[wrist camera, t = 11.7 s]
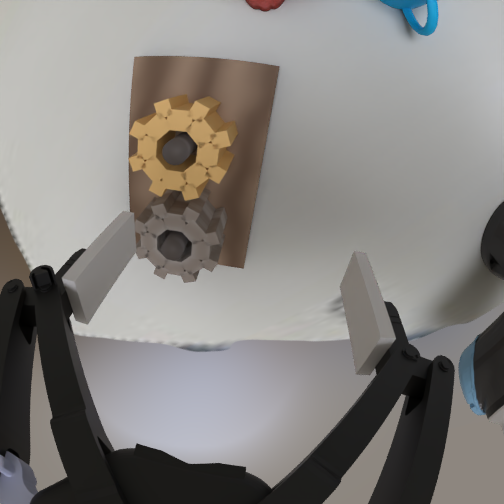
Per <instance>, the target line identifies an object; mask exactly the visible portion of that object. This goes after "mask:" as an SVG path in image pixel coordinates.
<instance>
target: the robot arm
mask: <svg viewBox="0 0 504 504" xmlns="http://www.w3.org/2000/svg"><path fill="white" fill-rule="evenodd" d="M136 251H137V250H136V237H135V222H134V213H132V212H125V211H123V212H122V213H121V214H120V215H119V216H118V217H117V218H116V219H115V220H114V221H113V222H112V223H111V224H110V225H109V226H108V227H107V228H106V229H105V230H104V231H103V232H102V233H101V234H100V235H99V236H98V237H97V239H96V240H95V241H94V242H93V243H92V244H91V245H90V246H89V247H88V248H87V249H83V248H82V249H80V250H79V251H77V252H75V253H74V254H73V255H72V256H71V257H70V258H69V260H68V261H67V262H66V263H65V264H64V265H63V266H62V267H61V269H60V270H59V271H58V272H57V273H56V274H54V271H53V268H52V267H51V266H48V265H42V266H39V267H36V268H35V269H34V270H32V272H31V273H30V276H29V278H30V281H31V283H32V286H33V287H24V285H23V282H22V281H21V280H19V279H13V280H10V281H9V282H7V283H6V284H5V285H4V287H3V289H2V291H1V294H0V503H1V504H322V503H323V502H324V501H325V500H326V499H327V498H328V497H329V496H330V495H331V493H332V492H333V491H334V490H335V489H336V488H337V486H338V485H339V484H340V482H341V478H342V477H343V475H344V474H345V473H346V472H347V470H348V469H349V468H350V467H351V466H352V464H353V463H354V462H355V461H356V459H357V458H358V457H359V455H360V454H361V453H362V452H363V450H364V449H365V448H366V446H367V445H368V444H369V442H370V441H371V439H372V438H373V437H374V435H375V434H376V432H377V431H378V429H379V428H380V427H381V425H382V424H383V422H384V421H385V419H386V418H387V416H388V415H389V413H390V411H391V410H392V408H393V407H394V405H395V404H396V402H397V400H398V399H399V397H400V395H401V394H403V395H406V397H405V401H404V404H403V408H402V412H401V416H400V419H399V422H398V426H397V429H396V432H395V436H394V439H393V442H392V445H391V448H390V450H389V453H388V456H387V459H386V462H385V464H384V467H383V470H382V472H381V475H380V477H379V480H378V482H377V485H376V487H375V489H374V492H373V494H372V496H371V499H370V501H369V503H368V504H430V503H431V499H432V496H433V493H434V490H435V486H436V483H437V479H438V475H439V471H440V467H441V462H442V458H443V454H444V449H445V443H446V438H447V432H448V427H449V419H450V413H451V405H452V395H453V385H454V372H455V370H454V365H453V363H452V362H451V361H450V360H449V359H448V358H447V357H445V356H442V355H441V356H437V357H436V358H435V359H434V360H433V361H431V360H428V359H425V358H423V357H420V353H419V351H418V350H417V349H416V348H415V347H414V346H413V345H411V344H409V343H408V340H407V337H406V334H405V331H404V328H403V325H402V324H401V323H402V322H401V319H400V318H399V314H398V311H397V309H396V308H395V306H394V305H393V304H392V303H391V302H385V301H384V300H383V297H382V295H381V292H380V289H379V286H378V283H377V281H376V278H375V275H374V273H373V270H372V267H371V265H370V262H369V260H368V257H367V255H366V253H364V252H359V251H354V252H353V255H352V258H351V260H350V263H349V265H348V268H347V270H346V273H345V275H344V278H343V280H342V283H341V285H340V290H341V294H342V299H343V304H344V309H345V314H346V319H347V325H348V330H349V335H350V341H351V346H352V352H353V359H354V365H355V371H356V374H359V375H360V374H361V375H370V374H371V373H372V371H373V370H374V369H376V374H377V375H376V376H375V378H374V379H373V380H372V381H371V383H370V384H369V385H368V386H367V388H366V389H365V391H364V392H363V393H362V395H361V396H360V397H359V398H358V400H357V401H356V402H355V404H354V405H353V406H352V407H351V408H350V409H349V411H348V412H347V413H346V414H345V415H344V417H343V418H342V419H341V420H340V421H339V423H338V424H337V425H336V426H335V427H334V428H333V429H332V430H331V431H330V433H329V434H328V435H327V436H326V437H325V438H324V439H323V440H322V441H321V442H320V443H319V444H318V446H317V447H316V448H315V449H314V450H313V451H312V452H311V453H310V454H309V455H308V456H307V457H306V458H305V459H304V460H303V461H302V462H301V463H300V464H299V465H298V466H297V467H296V468H294V469H293V470H292V471H291V472H290V473H289V474H288V475H287V476H286V477H285V478H283V479H282V480H281V481H280V482H279V483H278V484H277V485H275V486H274V487H273V488H272V489H271V488H270V487H269V486H268V485H267V484H266V483H265V482H264V481H262V480H261V479H259V478H258V477H256V476H254V475H252V474H250V473H247V472H246V467H242V466H234V465H227V464H221V463H212V464H211V463H210V464H188V463H185V462H183V461H181V460H179V459H177V458H175V457H173V456H171V455H169V454H167V453H165V452H163V451H161V450H157V449H153V448H150V447H147V446H143V445H140V444H136V448H129V449H128V448H127V449H120V450H116V451H114V449H113V447H112V445H111V443H110V441H109V440H108V438H107V436H106V434H105V431H104V429H103V426H102V424H101V421H100V419H99V416H98V413H97V411H96V408H95V405H94V403H93V400H92V397H91V394H90V391H89V388H88V385H87V381H86V378H85V375H84V372H83V368H82V365H81V361H80V358H79V354H78V350H77V346H76V342H75V338H74V334H73V330H72V325H71V321H70V319H69V317H70V316H71V314H72V313H73V314H74V317H75V320H76V321H79V322H82V323H85V324H88V323H89V322H90V320H91V319H92V317H93V315H94V314H95V312H96V311H97V309H98V307H99V306H100V304H101V303H102V301H103V300H104V298H105V297H106V295H107V294H108V292H109V290H110V289H111V287H112V286H113V284H114V283H115V281H116V280H117V279H118V277H119V276H120V274H121V273H122V271H123V270H124V268H125V267H126V265H127V264H128V263H129V261H130V260H131V258H132V257H133V255H134V254H135V253H136ZM481 254H482V259H483V261H484V263H485V264H486V266H487V267H488V268H489V270H490V271H491V272H492V273H493V274H494V275H496V276H498V277H499V278H501V279H503V280H504V203H502V204H501V205H500V206H499V208H498V209H497V210H496V211H495V213H494V214H493V216H492V217H491V219H490V221H489V223H488V225H487V227H486V229H485V232H484V235H483V239H482V246H481ZM37 335H38V343H39V351H40V357H41V364H42V370H43V375H44V380H45V385H46V390H47V395H48V399H49V403H50V407H51V411H52V416H53V418H52V419H51V420H50V424H51V429H52V432H53V435H54V439H55V442H56V445H57V449H58V452H59V455H60V457H61V460H62V463H63V466H64V469H65V471H66V474H67V477H66V478H65V479H63V480H61V481H59V482H57V483H55V484H53V485H51V486H49V487H47V488H45V489H43V490H41V491H39V492H38V491H37V489H36V483H37V481H36V478H35V476H34V473H33V470H32V469H31V467H30V466H29V463H30V396H31V395H30V394H31V380H32V368H33V359H34V350H35V343H36V336H37ZM459 379H460V384H461V388H462V391H463V394H464V397H465V399H466V401H467V403H468V404H470V408H471V410H472V411H473V412H474V413H475V414H477V415H485V414H486V415H487V418H488V420H489V422H493V423H497V424H499V425H501V427H502V430H503V433H504V312H503V313H502V314H501V315H500V316H499V317H498V318H497V319H496V320H495V321H494V322H493V323H492V324H491V325H490V326H489V327H488V328H487V329H486V330H485V331H484V332H483V333H481V334H479V335H478V336H477V337H476V338H475V340H474V341H473V342H472V343H471V344H470V345H469V346H468V347H467V348H466V349H465V350H464V351H463V353H462V355H461V357H460V362H459Z"/></svg>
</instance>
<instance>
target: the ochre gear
mask: <svg viewBox="0 0 504 504" xmlns="http://www.w3.org/2000/svg"><path fill="white" fill-rule="evenodd" d="M220 104H221V102H219V101H217V100H215V99H213V98H211V97H210V96H208V97H205V98H202V99H199V100H196V101H195V102H194V103H189V101H188V97H187V94H184V95H180V96H176V97H172V98H169V99H166V100H163V101H160V102H157V103H154V106H155V110H156V113H153V114H151V115H148V116H146V117H143V118H141V119H138V120H136V121H135V122H134V124H133V127H132V129H131V131H130V133H129V134H130V135H132V136H134V137H135V138H137V139H138V152H137V153H136V154H134V155H133V156H131V157H130V158H128V159H129V162H130V164H131V167H132V170H133V172H134V171H138V170H141V169H143V171H144V172H145V173H146V174H147V175H148V177H149V178H150V179H151V180H152V181H153V182H152V184H151V186H150V189H149V191H151V192H153V193H155V194H156V195H158V196H160V197H162V196H163V194H164V193H165V192H166V191H167V189H171V190H177V191H182V194H183V197H184V200H185V201H187V200H191V199H196V198H199V197H200V195H201V193H202V191H203V190H204V188H205V186H206V184H207V182H208V181H209V179H211V180H213V181H214V182H216V183H218V184H219V183H220V181H221V180H222V178H223V177H224V175H225V173H226V172H227V170H228V168H229V166H230V163H231V161H232V159H233V157H234V154H232V153H231V152H229V151H227V150H226V148H227V147H228V146H231V145H232V143H233V141H234V139H235V138H236V136H237V134H238V131H237V127H236V123H235V121H231V122H227V123H225V122H224V121H223V120H222V118H221V117H220V116H219V114H218V113H217V112H216V110H217V108H218V107H219V105H220ZM176 131H183V132H187V133H188V134H189V135H190V137H191V138H192V139H193V140H194V142H195V143H196V144H197V145H198V148H197V155H190V156H189V157H188V158H187V159H186V160H185V161H184V162H183V163H182V164H180V165H171V164H169V163H167V162H166V161H165V160H164V158H163V155H162V149H163V147H164V145H165V144H166V143H167V142H169V141H170V140H171V139H173V138H174V137H175V134H176Z"/></svg>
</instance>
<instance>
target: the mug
mask: <svg viewBox="0 0 504 504" xmlns="http://www.w3.org/2000/svg"><path fill="white" fill-rule="evenodd" d="M380 1H381V2H383V3H384V4H386V5H389V6H391V7H393V8H397V9H402V10H403V13H404V15H405V17H406V19H407V21H408V23H409V24H410V26H411V27H412V28H413V29H414V30H415V31H416V32H417V33H418V34H420V35H425V36H428V35H430V34H432V33H433V32H434V31H435V29H436V27H437V22H438V4H437V0H380ZM425 4H427V10H428V17H427V23H426V25H425V27H421V26H420V25H419V23H418V22H417V20H416V19H415V17H414V15H413V13H412V10H411V9H414V8H416V7H419V6H422V5H425Z"/></svg>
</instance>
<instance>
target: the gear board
mask: <svg viewBox="0 0 504 504" xmlns="http://www.w3.org/2000/svg"><path fill="white" fill-rule="evenodd" d="M278 72H279V66H273V65H267V64H261V63H254V62H246V61H238V60H229V59H218V58H204V57H182V56H144V57H135V58H134V67H133V77H132V89H131V104H130V124H129V133H130V131H131V129H132V127H133V124H134V122H135V121H136V120H138V119H141V118H143V117H146V116H148V115H151V114H153V113H156V110H155V106H154V103H157V102H160V101H163V100H166V99H169V98H172V97H176V96H180V95H184V94H187V97H188V101H189V103H194V102H195V101H196V100H199V99H202V98H205V97H208V96H210V97H211V98H213V99H215V100H217V101H219V102H221V104H220V105H219V107H218V108H217V110H216V112H217V113H218V114H219V116H220V117H221V118H222V120H223V121H224V122H225V123H227V122H231V121H235V123H236V127H237V131H238V134H237V136H236V138H235V139H234V141H233V143H232V145H231V146H228V147H227V148H226V150H227V151H229V152H231V153H232V154H234V157H233V159H232V161H231V163H230V166H229V168H228V170H227V172H226V173H225V175H224V177H223V178H222V180H221V181H220V183H219V184H218V183H216V182H214V181H213V180H211V179H209V181H208V182H207V184H206V186H205V188H204V190H203V191H202V193H201V195H200V197H199V198H196V199H191V200H187V201H185V200H184V197H183V194H182V191H177V190H171V189H167V191H166V192H165V193H164V194H163V196H162V197H160V196H158V195H156V194H155V193H153V192H151V191H149V189H150V186H151V184H152V182H153V181H152V180H151V179H150V178H149V177H148V175H147V174H146V173H145V172H144V171H143V169H141V170H138V171H134V172H133V170H132V167H131V164H130V162H129V196H130V212H132V213H134V222H135V237H136V250H137V251H136V254H137V256H138V258H139V259H141V258H147V259H148V260H149V261H150V262H151V263H152V264H153V265H154V266H155V267H156V269H155V271H154V274H155V275H157V276H159V277H161V278H163V279H165V277H166V275H167V273H169V274H174V275H179V276H181V277H182V279H183V281H184V283H187V282H194V281H196V279H197V276H198V273H199V270H200V269H202V268H205V269H207V270H209V271H211V272H212V271H213V269H214V268H215V266H216V265H217V264H219V265H225V266H231V267H237V268H243V269H244V263H245V257H246V252H247V246H248V240H249V234H250V229H251V223H252V217H253V211H254V206H255V200H256V194H257V189H258V183H259V177H260V172H261V166H262V160H263V155H264V149H265V144H266V138H267V132H268V127H269V121H270V116H271V110H272V105H273V99H274V94H275V88H276V83H277V77H278ZM197 148H198V145H197V144H196V143H195V142H194V140H193V139H192V138H191V137H190V135H189V134H188V133H187V132H183V131H176V134H175V137H174V138H173V139H171V140H170V141H169V142H167V143H166V144H165V145H164V147H163V149H162V155H163V158H164V160H165V161H166V162H167V163H169V164H171V165H180V164H182V163H183V162H184V161H185V160H186V159H187V158H188V157H189V156H190V155H197ZM137 152H138V139H137V138H135V137H134V136H132V135H130V134H129V158H130V157H131V156H133V155H134V154H136V153H137Z"/></svg>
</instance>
